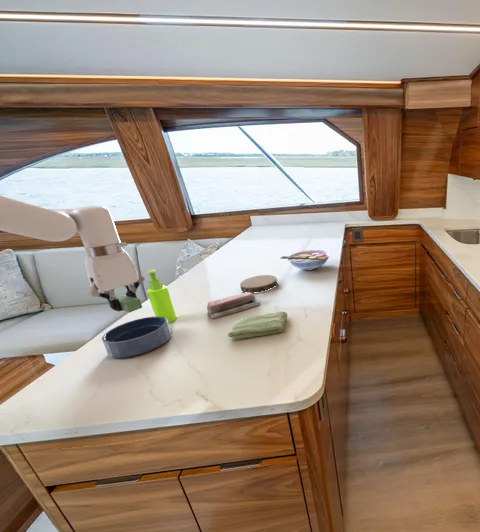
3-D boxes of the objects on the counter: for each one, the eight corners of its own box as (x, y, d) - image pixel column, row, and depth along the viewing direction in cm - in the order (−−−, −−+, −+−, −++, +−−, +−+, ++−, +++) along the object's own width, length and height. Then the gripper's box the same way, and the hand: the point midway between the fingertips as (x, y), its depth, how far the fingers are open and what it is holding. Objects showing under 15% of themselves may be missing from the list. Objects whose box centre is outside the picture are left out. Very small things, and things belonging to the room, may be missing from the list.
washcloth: (238, 322, 110) (237, 315, 109) (288, 316, 114) (287, 309, 113) (227, 342, 98) (225, 333, 97) (283, 334, 102) (282, 326, 101)
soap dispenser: (174, 314, 118) (160, 266, 112) (177, 320, 113) (162, 271, 107) (156, 319, 114) (140, 270, 108) (158, 325, 110) (141, 275, 103)
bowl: (128, 364, 88) (121, 347, 86) (97, 353, 94) (90, 337, 92) (183, 336, 102) (178, 320, 100) (153, 328, 108) (148, 313, 106)
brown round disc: (260, 279, 153) (258, 273, 152) (284, 282, 147) (283, 277, 146) (233, 291, 139) (232, 285, 138) (259, 295, 133) (258, 289, 132)
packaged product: (209, 308, 111) (204, 300, 118) (212, 319, 113) (207, 311, 120) (259, 294, 122) (252, 287, 129) (261, 305, 124) (254, 297, 131)
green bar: (142, 307, 91) (139, 298, 90) (129, 312, 88) (126, 303, 87) (123, 303, 95) (120, 294, 94) (110, 307, 92) (106, 298, 91)
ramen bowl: (339, 262, 175) (338, 249, 172) (321, 276, 154) (319, 261, 151) (301, 260, 181) (299, 248, 178) (278, 273, 160) (276, 259, 157)
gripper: (130, 242, 94) (148, 295, 100) (58, 257, 79) (84, 318, 85) (145, 243, 91) (162, 298, 97) (73, 259, 77) (99, 322, 83)
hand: (125, 306), depth 91 cm, fingers closed on green bar, 3 cm apart
